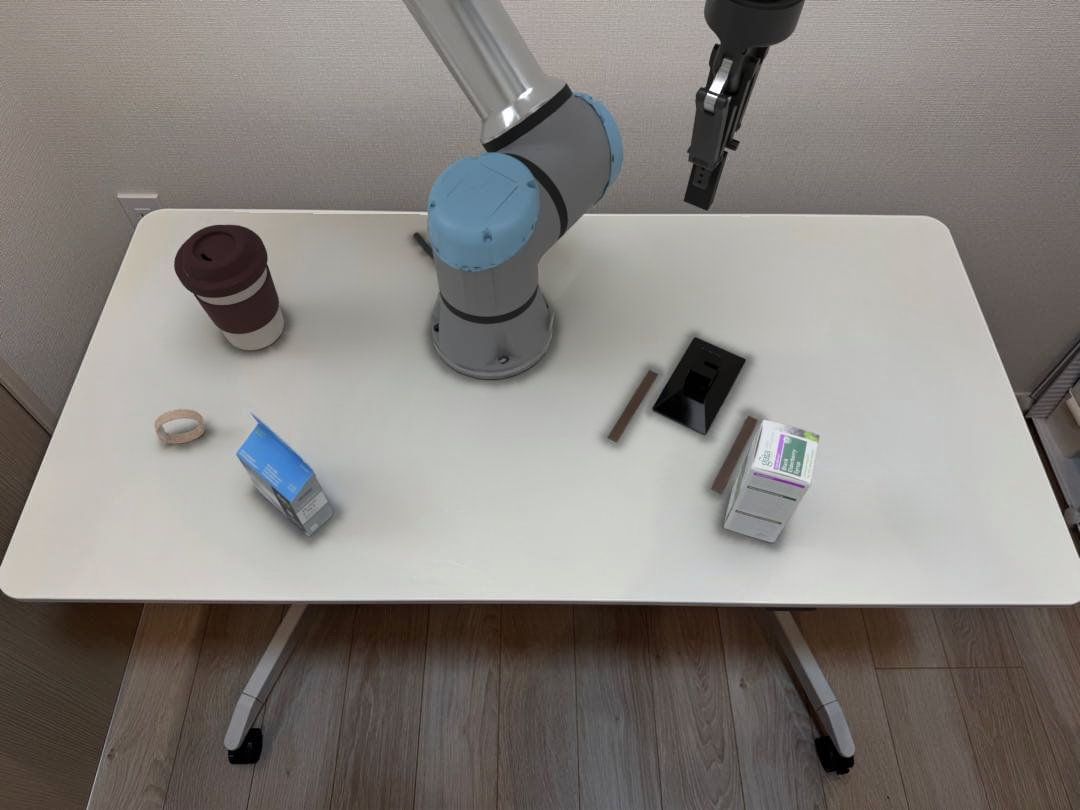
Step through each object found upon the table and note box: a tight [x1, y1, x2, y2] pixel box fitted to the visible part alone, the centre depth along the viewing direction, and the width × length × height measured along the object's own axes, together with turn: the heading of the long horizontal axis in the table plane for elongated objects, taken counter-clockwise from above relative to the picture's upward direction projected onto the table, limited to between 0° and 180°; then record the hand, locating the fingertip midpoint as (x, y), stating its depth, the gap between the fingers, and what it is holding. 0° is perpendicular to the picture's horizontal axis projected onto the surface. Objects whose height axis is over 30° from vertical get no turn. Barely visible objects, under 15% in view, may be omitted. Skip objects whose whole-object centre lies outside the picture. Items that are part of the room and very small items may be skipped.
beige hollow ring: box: [154, 408, 205, 445], centre depth 87 cm, size 3×5×5 cm, turn 111°
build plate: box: [651, 336, 747, 436], centre depth 91 cm, size 12×7×5 cm, turn 150°
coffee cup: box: [173, 224, 285, 351], centre depth 91 cm, size 10×10×15 cm
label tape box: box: [235, 411, 335, 537], centre depth 79 cm, size 9×4×12 cm, turn 50°
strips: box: [607, 369, 759, 495], centre depth 89 cm, size 14×11×1 cm
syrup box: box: [722, 419, 821, 544], centre depth 78 cm, size 6×6×14 cm
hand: (698, 201), depth 79 cm, fingers closed
